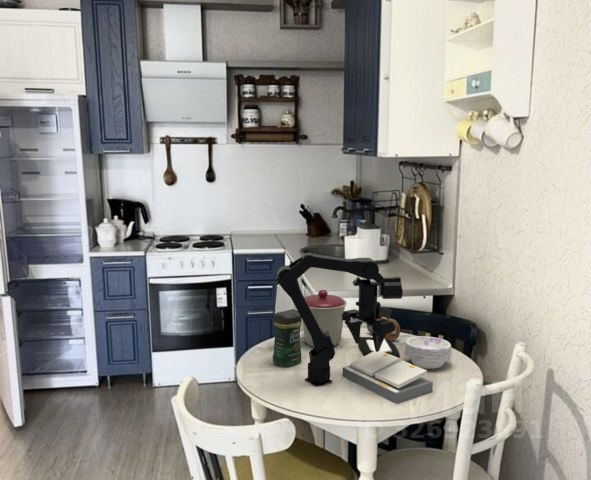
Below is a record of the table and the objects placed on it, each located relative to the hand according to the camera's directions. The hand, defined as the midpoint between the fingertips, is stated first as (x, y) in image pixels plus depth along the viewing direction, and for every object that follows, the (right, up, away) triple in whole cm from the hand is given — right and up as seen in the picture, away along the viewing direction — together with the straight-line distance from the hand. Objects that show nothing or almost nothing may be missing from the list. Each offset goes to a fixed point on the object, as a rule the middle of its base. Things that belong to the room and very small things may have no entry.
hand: (367, 347), depth 173 cm
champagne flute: (-27, -7, +32) cm, 42 cm away
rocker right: (+9, -7, -5) cm, 13 cm away
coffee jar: (-25, -9, +17) cm, 32 cm away
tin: (+12, -5, +44) cm, 46 cm away
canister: (-12, -6, +37) cm, 39 cm away
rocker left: (+3, -6, +4) cm, 8 cm away
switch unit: (+6, -11, 0) cm, 13 cm away
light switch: (+8, -7, +31) cm, 33 cm away
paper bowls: (+23, -9, +16) cm, 29 cm away
